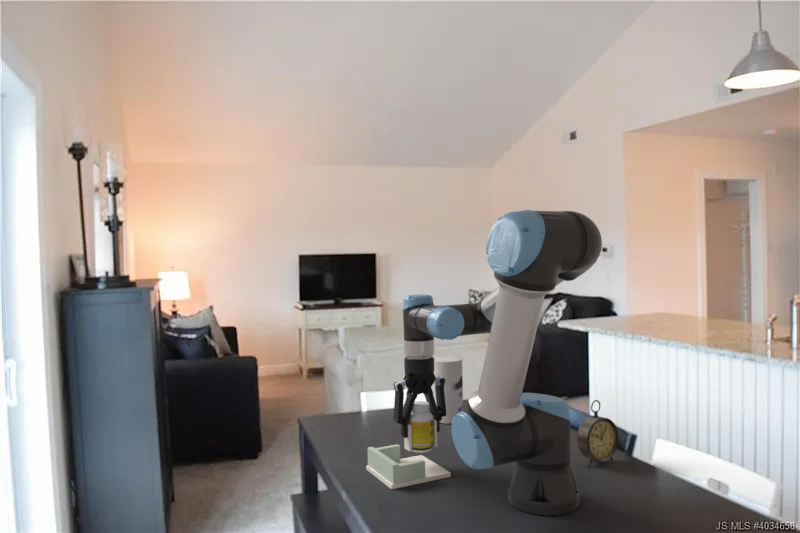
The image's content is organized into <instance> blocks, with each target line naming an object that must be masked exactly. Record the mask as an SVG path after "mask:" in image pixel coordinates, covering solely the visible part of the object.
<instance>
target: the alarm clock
mask: <svg viewBox="0 0 800 533" xmlns="http://www.w3.org/2000/svg"><path fill="white" fill-rule="evenodd" d="M596 402H597V403H598V405H599V406H598V410H594V409H593V405H594V404H595V403H596ZM600 410H601V402H600V401H599V400H598V399H595V400H593V401H592V402H591V405H590V411H591V412H592V413H593V415H590V416H588V417H586V418H585V419H584V420H583V421H582V422H581V424H580V425H579V427H578V430H577V433H576V444H577V447H578V450H579V451H580V454H581V455H582V456H583V457H585V458H586V459H588V463H587V466H586V468H588V469H589V468H590V466H591V464H592V463H593V461H594V462H595V461H596V462H598V463H605V462H607V461H609V460H611V461H612V462H614V458H613V456H614V455H615V453H616V451H617V449H618V445H619V440H620V439H619V432H618V428H617V425H616V424H615V422H614V421H612V420H611V419H610V418H608V417H604V416H599V414H598V413H599V412H600Z"/></svg>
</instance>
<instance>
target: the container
mask: <svg viewBox="0 0 800 533" xmlns="http://www.w3.org/2000/svg"><path fill="white" fill-rule="evenodd" d="M433 358H434V375H435V377H442V378H444V379H445V384H444V394H445V404H446V416H445V417H444V416H443V417H442V420H441V421H439V422H440V424H451V425H452V420H453V418H454V416H455V415H456V414H458V413H459V412H461V411H463V412H464V387H463V384H464V382H463V358H462V357H459V356H449V355H447V356H445V355H444V356H443V355H442V356H435V357H433ZM431 388H432V391H433V396H434V399H435V402H436V405H437V401H436V391H435V383H433V385H432V387H431Z"/></svg>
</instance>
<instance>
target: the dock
mask: <svg viewBox="0 0 800 533" xmlns="http://www.w3.org/2000/svg"><path fill="white" fill-rule="evenodd" d="M365 469H366V471H367V472H368V473H370V474H371V475H372V476H374V477H375V478H376V479H378V481H380V482H382V483H383V484H384V485H385V486H387V487H388V488H389V489H390V490H395V489H399V488H405V487H408V486H409V487H410V486H413V485H418V484H423V483H428V482H433V481H437V480H442V479H447V478H451V475H452V473H451V472H450V471H449V470H447V469H445V468H444V467H442V466H441V465H439V464H437V463H436V462H434V461H432V460H431V459H429V458H427V457H426V456H424V455H422V454H420V455H415V456H413V455H412V456H409V457H404V458H401V445H400V444H390V445H387V446H386V445H385V446H380V447H374V446H368V447H367V465H365Z"/></svg>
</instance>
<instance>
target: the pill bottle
mask: <svg viewBox="0 0 800 533" xmlns="http://www.w3.org/2000/svg"><path fill="white" fill-rule="evenodd" d="M429 408H430V405H429V403H428V402H427V401H426V400H425V401H424V400H417V401H416V400H415V402H414V406H413V409H412V413H411V416H410V420H409V424H410V425H412V451H411V452H414V453H421V454H422V453H428V452H431V451H432V450H433V449H434V446H433V415H432V414H431V413H430V410H429Z"/></svg>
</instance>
